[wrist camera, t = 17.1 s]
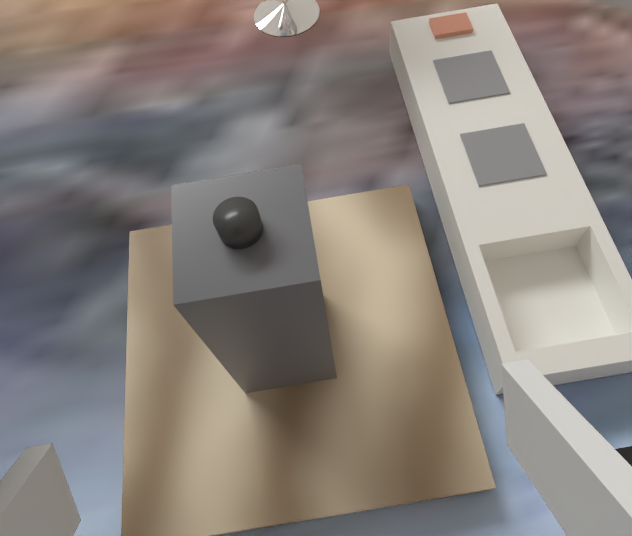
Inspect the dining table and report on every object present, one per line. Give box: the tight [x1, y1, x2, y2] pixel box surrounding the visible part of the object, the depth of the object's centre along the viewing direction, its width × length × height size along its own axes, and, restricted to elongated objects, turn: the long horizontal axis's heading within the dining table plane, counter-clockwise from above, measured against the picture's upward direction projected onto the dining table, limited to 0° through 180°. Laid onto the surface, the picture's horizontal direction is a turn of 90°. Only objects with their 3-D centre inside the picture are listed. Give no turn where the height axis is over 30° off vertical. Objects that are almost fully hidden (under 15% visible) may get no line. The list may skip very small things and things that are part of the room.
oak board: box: [121, 185, 496, 536], centre depth 26 cm, size 16×16×1 cm
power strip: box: [389, 4, 632, 395], centre depth 29 cm, size 7×24×3 cm, turn 8°
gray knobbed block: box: [171, 164, 337, 393], centre depth 21 cm, size 4×4×11 cm
